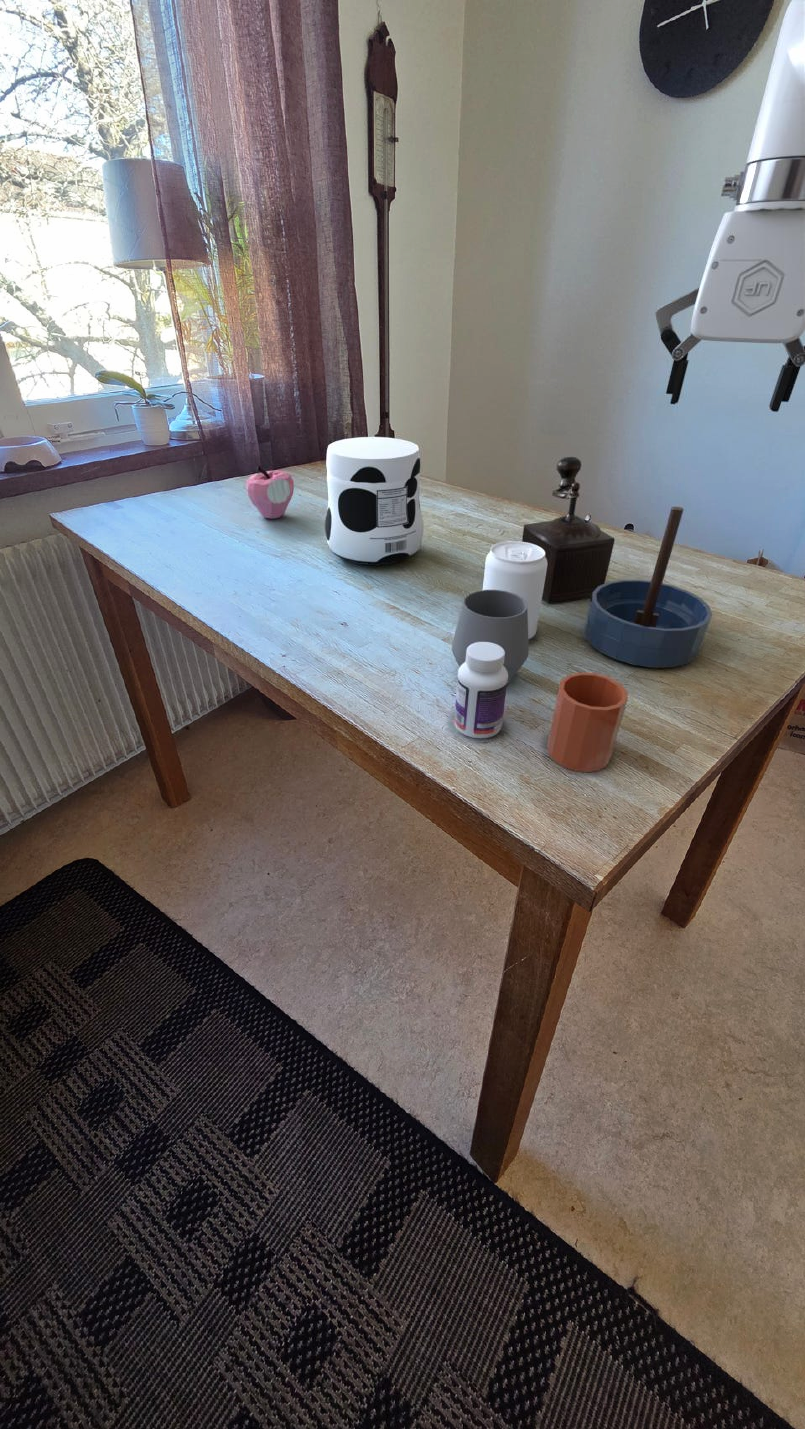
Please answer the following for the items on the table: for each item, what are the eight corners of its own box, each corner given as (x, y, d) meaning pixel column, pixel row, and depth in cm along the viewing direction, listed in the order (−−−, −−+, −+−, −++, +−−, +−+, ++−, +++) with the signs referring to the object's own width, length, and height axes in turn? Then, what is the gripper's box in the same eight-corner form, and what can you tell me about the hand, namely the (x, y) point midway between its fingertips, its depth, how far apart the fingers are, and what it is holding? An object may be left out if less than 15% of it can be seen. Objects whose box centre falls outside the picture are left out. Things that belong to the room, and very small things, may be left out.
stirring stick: (651, 638, 84) (690, 508, 73) (650, 643, 83) (689, 511, 72) (630, 634, 85) (665, 505, 74) (629, 638, 84) (665, 508, 73)
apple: (259, 526, 119) (253, 474, 113) (243, 514, 125) (236, 463, 119) (303, 518, 123) (299, 467, 117) (286, 507, 129) (281, 457, 123)
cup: (517, 655, 81) (527, 586, 75) (530, 695, 73) (543, 622, 67) (447, 655, 80) (451, 586, 74) (453, 695, 73) (459, 622, 67)
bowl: (722, 659, 81) (738, 619, 77) (630, 680, 76) (642, 639, 72) (646, 610, 92) (657, 573, 88) (562, 626, 87) (569, 588, 84)
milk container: (355, 530, 118) (352, 431, 107) (437, 545, 112) (442, 442, 101) (308, 561, 105) (299, 452, 95) (397, 580, 100) (398, 466, 89)
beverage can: (537, 622, 88) (550, 543, 81) (534, 649, 82) (548, 566, 75) (482, 615, 90) (490, 537, 83) (475, 642, 83) (483, 559, 76)
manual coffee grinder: (608, 595, 96) (635, 478, 85) (547, 605, 93) (568, 485, 82) (556, 559, 108) (575, 452, 97) (501, 566, 105) (514, 457, 94)
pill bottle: (507, 718, 69) (518, 644, 63) (493, 745, 65) (503, 669, 60) (463, 706, 71) (469, 633, 65) (446, 731, 67) (452, 657, 61)
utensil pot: (623, 763, 63) (642, 701, 58) (569, 778, 61) (584, 715, 56) (586, 727, 68) (600, 667, 63) (534, 740, 66) (546, 679, 61)
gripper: (678, 191, 53) (633, 405, 63) (909, 183, 48) (819, 419, 58) (683, 199, 59) (640, 395, 69) (890, 193, 53) (811, 407, 63)
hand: (722, 406), depth 63 cm, fingers open, 9 cm apart
